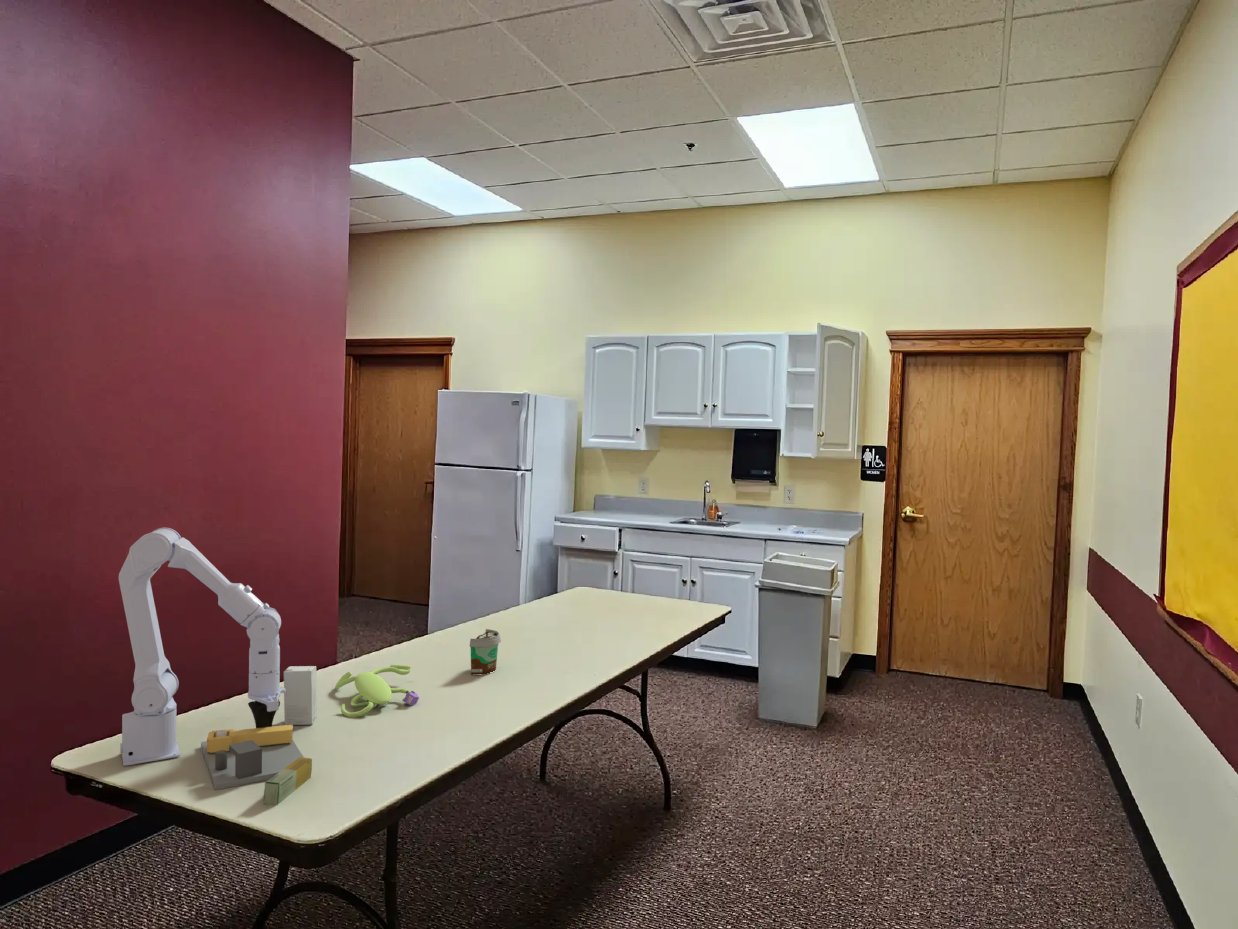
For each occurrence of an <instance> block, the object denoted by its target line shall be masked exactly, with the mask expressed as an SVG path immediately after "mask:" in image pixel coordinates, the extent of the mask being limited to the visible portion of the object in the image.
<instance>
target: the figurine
mask: <svg viewBox="0 0 1238 929" xmlns="http://www.w3.org/2000/svg"><path fill="white" fill-rule="evenodd" d="M411 670H412V666H411V665H405V664H391V665H389V666H387V667H380V668H377V669H374V670H372V671H369V672H367V671H363V672H359V673H358V674H357V675H353V676H352V674H353V673H352V672H351V671H347V672H345V673H344V674H343V675H342V676H341V678H340V679H339V680H338V681H337V683H336V685H335V686H334V689H335V690H340V688H342V687H344V686H345V685H347V684H350V683H352V682H354V686H355V689H356V690H357V691H358V694H357V695H356V696H354V697H353V698H352V699H351V700H350V705H351V706H352V707H360V706H366V707H364V708H363V709H361V710H359V711H355V712H349V711H347V710H346V704H345V703H342V704H341V706H340V708H341V709H340V713H341V714H342V715H343V716H344V717H348V718H360V717H363V716H364V715H365V714H367V713H369V712H370V711H371V710H372V709H374V708H376V707H377V705H378V706H379V705H380V706H388V703H389V702H390V701H391V698H392V697H393V696H392V694H399V693H401V694H404V695H405V697H404V698H402V702H403V703H405V704H407V705H408V706H414V705H415V704H417V703H418V701H419V699H420V697H419V695H418V693H416V692H415V691H414V690H411V691H410V689H406V688H403V687H402V688H391V687H390V685H389V684H388V683H387V681H385V679H383V677H381V676H379V675H378V674H382V673H388V672H389V673H395V674H397V675H401V676H402V675H403V676H406V675H408V674H409V673H410V672H411ZM362 698H363V699H365V700H366V701H364V702H360V703H359V702H358V700H361V699H362ZM357 702H358V703H357Z"/></svg>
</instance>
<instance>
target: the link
mask: <svg viewBox="0 0 1238 929" xmlns="http://www.w3.org/2000/svg"><path fill="white" fill-rule="evenodd" d="M293 728H294V725H285V724H283V725H276V726H275V725H274V726H273V725H272V727H263V728H256V727H254V728H244V729H233V728H230V729H229V728H227V729H219V730H212V731H209V732H208V734H207V737H206V741H207V752H209V753H213V752H217V751H221V750H225V751H229V745H231V744H236V743H240V742H245V741H249V740H252V741H254V742H255V743H256V744H257V745H258V746H263V745H272V744H282V743H291V742H292V739H293V733H294V732H293ZM218 731H227V736H223V737H216V733H217V732H218Z"/></svg>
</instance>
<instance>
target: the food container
mask: <svg viewBox="0 0 1238 929" xmlns="http://www.w3.org/2000/svg"><path fill="white" fill-rule="evenodd" d="M500 643H502V639H501V635H500V632H499V631H497V630H494V629H489V628H485V632H484V633H482V634H479V635H478V636H477V637H476V638H470V640H469V648H470V675H471V674H486V675H488V674H487V673H490V672H493V671H495V670H496V671H497V662H498V651H499V644H500ZM496 671H495V672H496ZM493 673H494V672H493Z"/></svg>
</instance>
